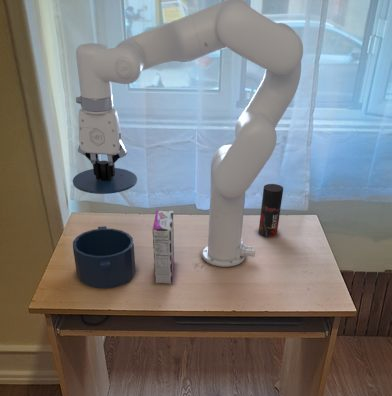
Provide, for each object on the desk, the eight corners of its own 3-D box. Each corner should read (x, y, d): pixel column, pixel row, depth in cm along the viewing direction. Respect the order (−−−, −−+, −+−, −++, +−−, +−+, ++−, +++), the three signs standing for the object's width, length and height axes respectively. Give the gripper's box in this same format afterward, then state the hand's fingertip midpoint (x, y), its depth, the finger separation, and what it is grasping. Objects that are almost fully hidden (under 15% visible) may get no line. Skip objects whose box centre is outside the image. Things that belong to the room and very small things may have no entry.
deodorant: (266, 227, 163) (272, 182, 153) (280, 233, 160) (287, 188, 150) (254, 232, 160) (259, 187, 150) (269, 239, 157) (275, 193, 147)
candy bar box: (157, 263, 144) (155, 209, 133) (174, 263, 144) (174, 210, 133) (154, 284, 135) (151, 228, 125) (172, 284, 135) (171, 229, 125)
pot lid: (133, 169, 141) (132, 149, 137) (140, 193, 128) (139, 172, 125) (72, 173, 138) (69, 152, 135) (73, 198, 126) (70, 176, 122)
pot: (132, 252, 149) (130, 222, 142) (138, 291, 133) (136, 260, 126) (77, 255, 146) (73, 225, 140) (77, 296, 130) (72, 264, 124)
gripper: (60, 105, 119) (71, 181, 130) (126, 109, 117) (131, 186, 129) (70, 97, 124) (80, 170, 136) (133, 101, 123) (138, 175, 134)
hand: (105, 177), depth 132 cm, fingers closed on pot lid, 2 cm apart
